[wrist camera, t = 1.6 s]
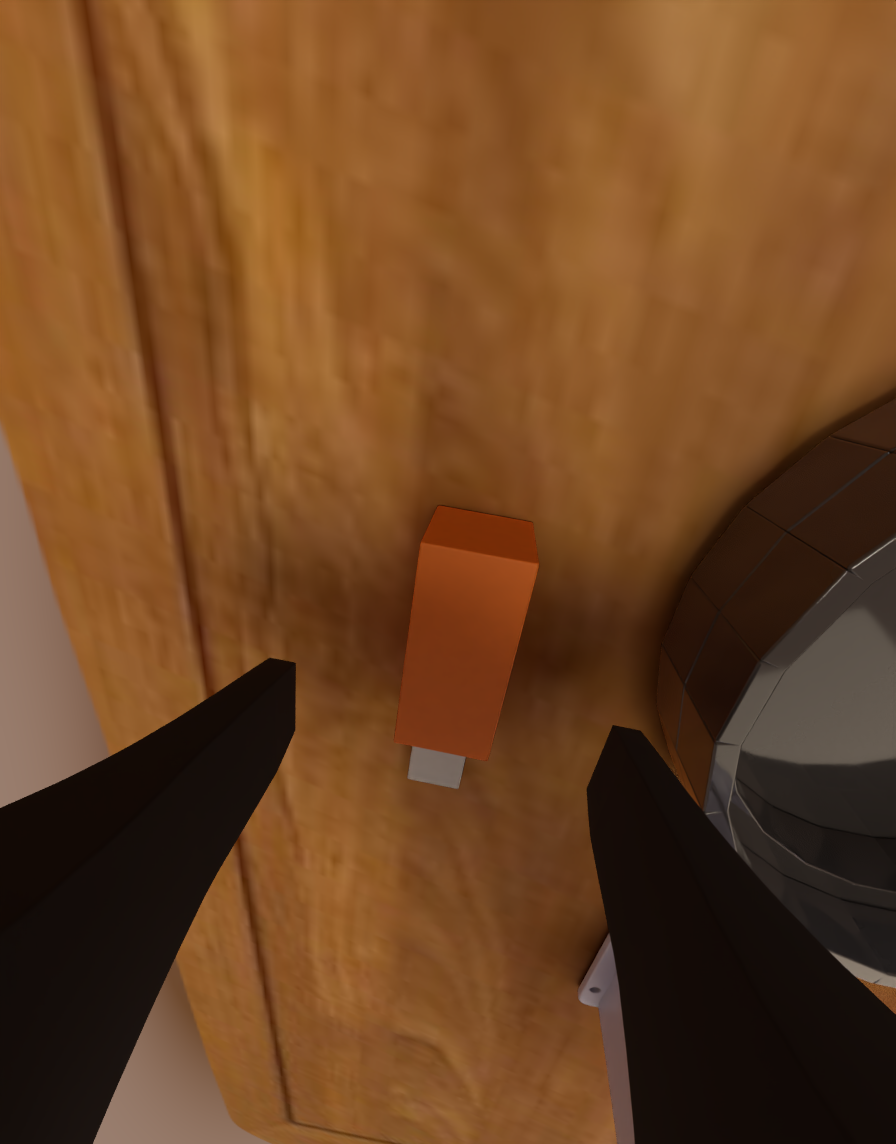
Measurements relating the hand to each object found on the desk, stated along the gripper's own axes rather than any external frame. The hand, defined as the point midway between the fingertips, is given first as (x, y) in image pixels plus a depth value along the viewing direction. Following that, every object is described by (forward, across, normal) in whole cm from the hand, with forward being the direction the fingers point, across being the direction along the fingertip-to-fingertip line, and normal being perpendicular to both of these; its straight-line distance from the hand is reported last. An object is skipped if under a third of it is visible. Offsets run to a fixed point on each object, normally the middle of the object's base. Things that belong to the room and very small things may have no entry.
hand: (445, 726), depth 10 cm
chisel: (+5, 0, +2) cm, 5 cm away
